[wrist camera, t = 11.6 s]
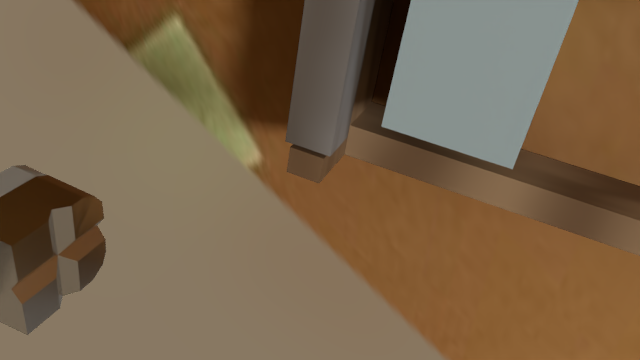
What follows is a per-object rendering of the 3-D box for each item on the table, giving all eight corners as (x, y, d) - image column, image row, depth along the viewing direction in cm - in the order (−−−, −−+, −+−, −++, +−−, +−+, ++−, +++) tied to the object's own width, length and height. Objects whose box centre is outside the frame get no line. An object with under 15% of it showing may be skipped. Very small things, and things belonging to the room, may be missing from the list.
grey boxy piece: (596, -67, 22) (595, -43, 17) (526, 115, 26) (509, 176, 21) (465, -95, 23) (429, -80, 18) (419, 82, 27) (379, 133, 22)
